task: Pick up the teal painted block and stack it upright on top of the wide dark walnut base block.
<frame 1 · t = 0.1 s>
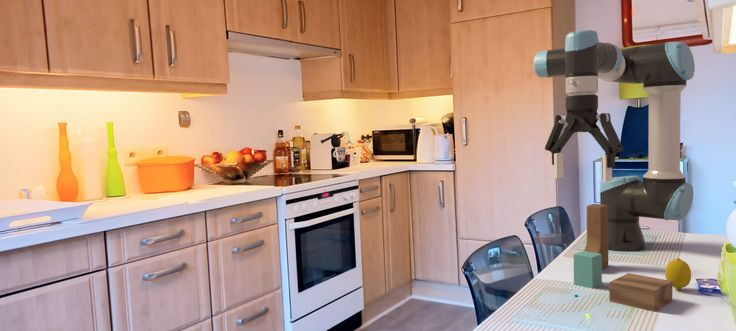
hand: (582, 179, 136), 28 cm above the table, tool pointing down, fingers open, 13 cm apart
teal block: (587, 284, 141), on the table
wooden block: (593, 269, 155), on the table
lemon: (678, 290, 133), on the table
walnut base block: (640, 302, 127), on the table
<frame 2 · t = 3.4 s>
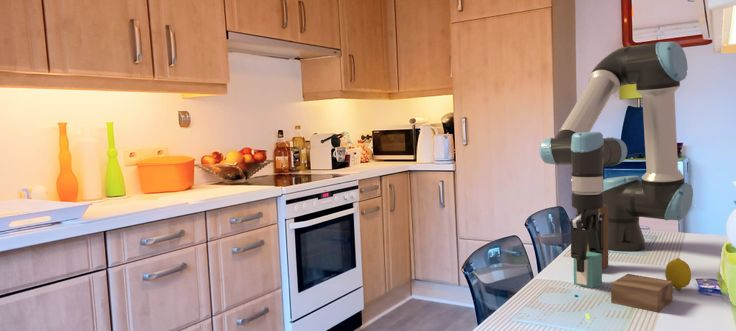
hand: (587, 281, 141), 1 cm above the table, tool pointing down, fingers closed on teal block, 5 cm apart
teal block: (587, 284, 141), on the table, touching gripper
everything else where it was.
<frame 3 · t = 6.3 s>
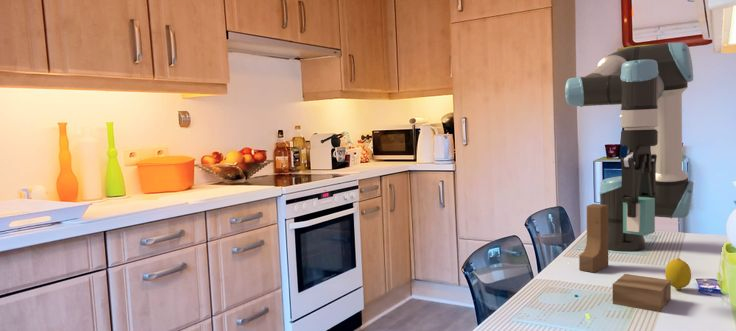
hand: (638, 229, 126), 17 cm above the table, tool pointing down, fingers closed on teal block, 5 cm apart
teal block: (638, 232, 126), point 16 cm above the table, touching gripper
everything else where it was.
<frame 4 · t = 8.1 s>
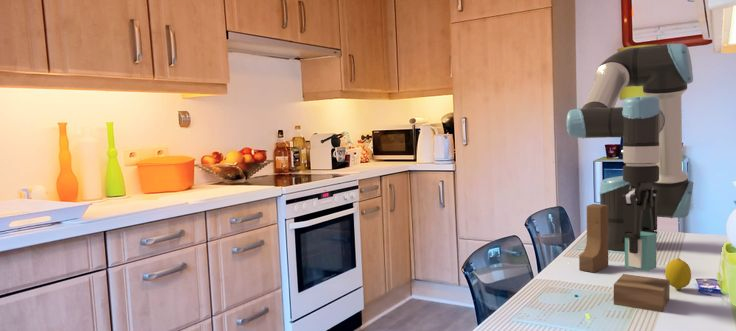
hand: (640, 264, 126), 9 cm above the table, tool pointing down, fingers closed on teal block, 5 cm apart
teal block: (640, 267, 126), point 8 cm above the table, touching gripper
when the fingers open (7 cm above the table, at t = 9.3 s): teal block drops 1 cm, point 5 cm above the table.
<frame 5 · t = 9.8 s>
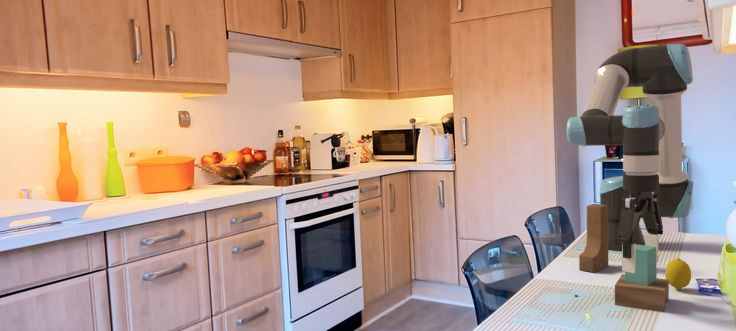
hand: (640, 266, 126), 8 cm above the table, tool pointing down, fingers open, 11 cm apart
teal block: (640, 281, 126), point 5 cm above the table
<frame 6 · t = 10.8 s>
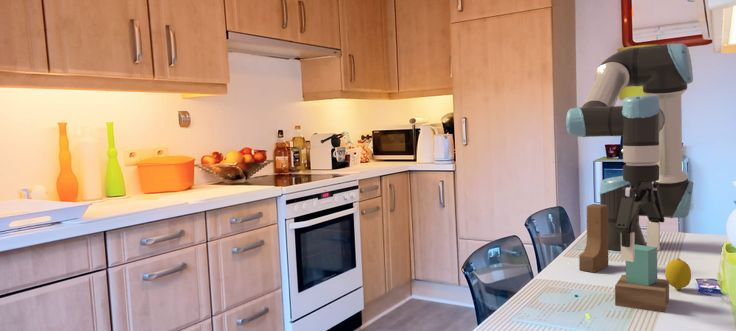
hand: (640, 254, 126), 11 cm above the table, tool pointing down, fingers open, 13 cm apart
teal block: (641, 281, 126), point 5 cm above the table, touching walnut base block
walnut base block: (642, 303, 126), on the table, touching teal block
everything else where it was.
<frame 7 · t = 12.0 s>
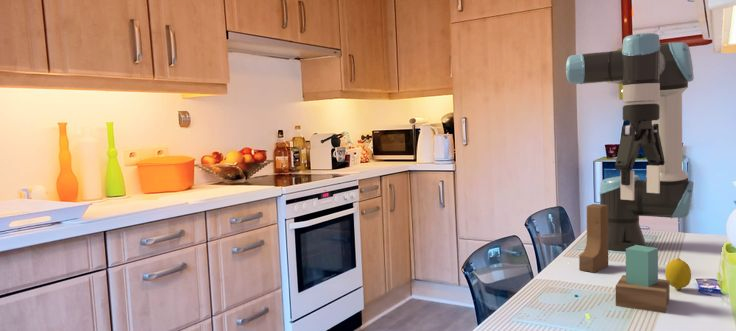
hand: (640, 196, 125), 25 cm above the table, tool pointing down, fingers open, 13 cm apart
teal block: (641, 282, 126), point 5 cm above the table
walnut base block: (642, 304, 126), on the table
everything else where it was.
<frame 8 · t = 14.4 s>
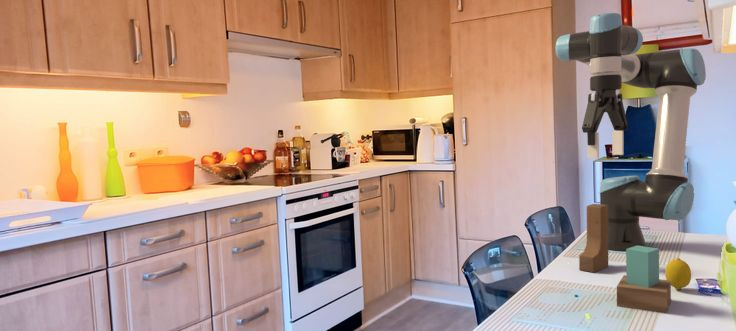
hand: (605, 156, 143), 33 cm above the table, tool pointing down, fingers open, 13 cm apart
nothing on the table moved.
at the end: teal block inside the target area on the walnut base block (0.3 cm from its centre), point 5.0 cm above the walnut base block's base; teal block tilted 0°; the gripper is holding nothing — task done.
